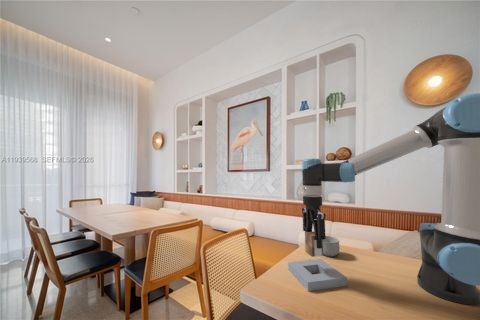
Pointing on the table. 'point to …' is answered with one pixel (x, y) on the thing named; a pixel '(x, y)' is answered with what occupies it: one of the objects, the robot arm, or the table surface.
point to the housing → (316, 281)
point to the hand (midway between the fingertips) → (314, 252)
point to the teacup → (330, 246)
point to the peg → (310, 243)
